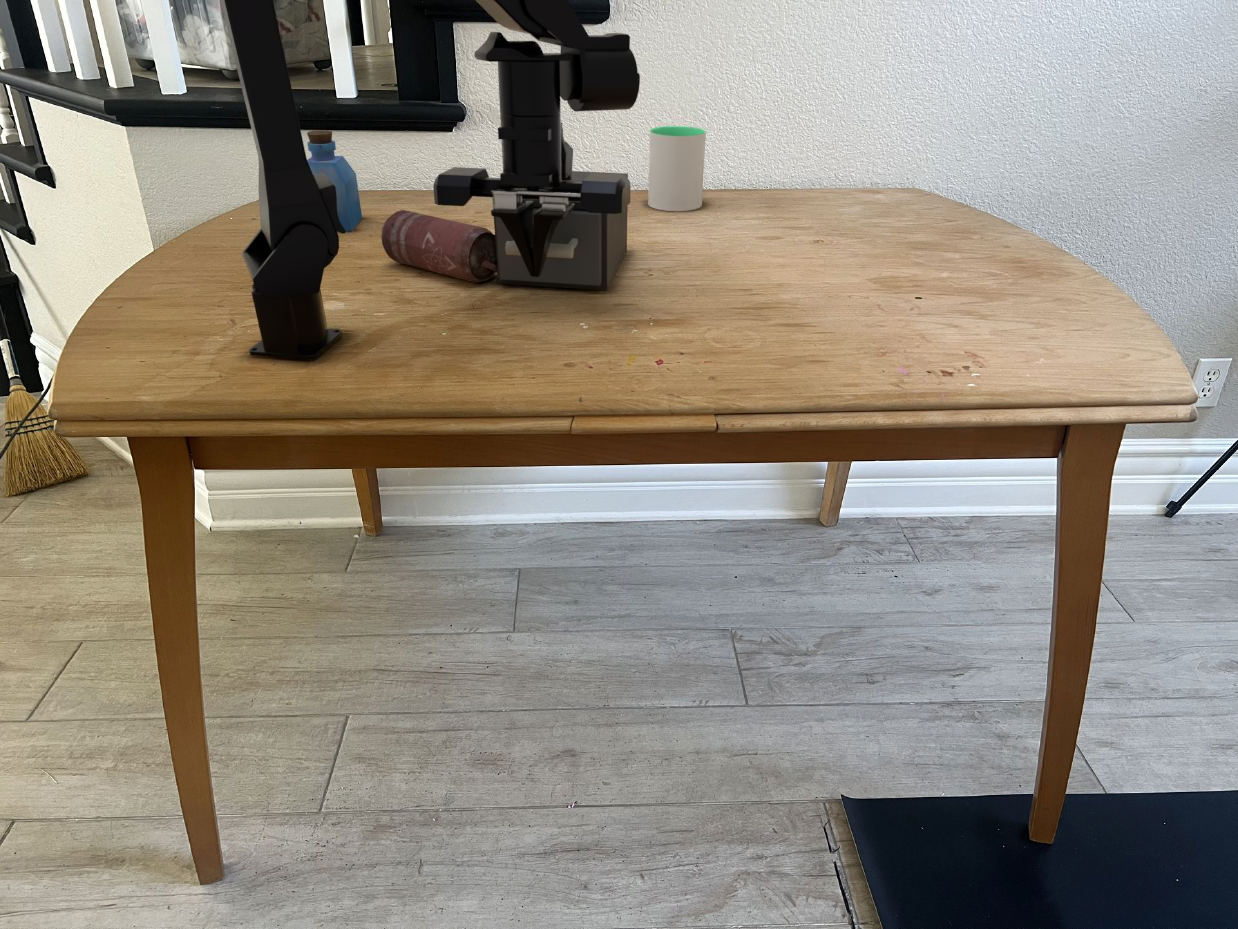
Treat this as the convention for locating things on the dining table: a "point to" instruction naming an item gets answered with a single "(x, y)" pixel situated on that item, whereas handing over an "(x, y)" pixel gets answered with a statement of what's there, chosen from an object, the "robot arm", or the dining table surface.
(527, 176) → the robot arm
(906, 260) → the dining table surface
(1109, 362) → the dining table surface
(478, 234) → the can
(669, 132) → the mug
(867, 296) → the dining table surface
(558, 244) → the drawer
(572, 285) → the cabinet
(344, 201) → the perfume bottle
